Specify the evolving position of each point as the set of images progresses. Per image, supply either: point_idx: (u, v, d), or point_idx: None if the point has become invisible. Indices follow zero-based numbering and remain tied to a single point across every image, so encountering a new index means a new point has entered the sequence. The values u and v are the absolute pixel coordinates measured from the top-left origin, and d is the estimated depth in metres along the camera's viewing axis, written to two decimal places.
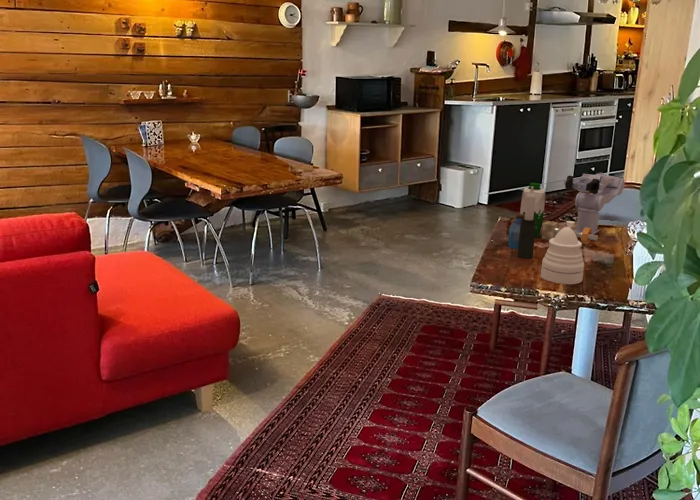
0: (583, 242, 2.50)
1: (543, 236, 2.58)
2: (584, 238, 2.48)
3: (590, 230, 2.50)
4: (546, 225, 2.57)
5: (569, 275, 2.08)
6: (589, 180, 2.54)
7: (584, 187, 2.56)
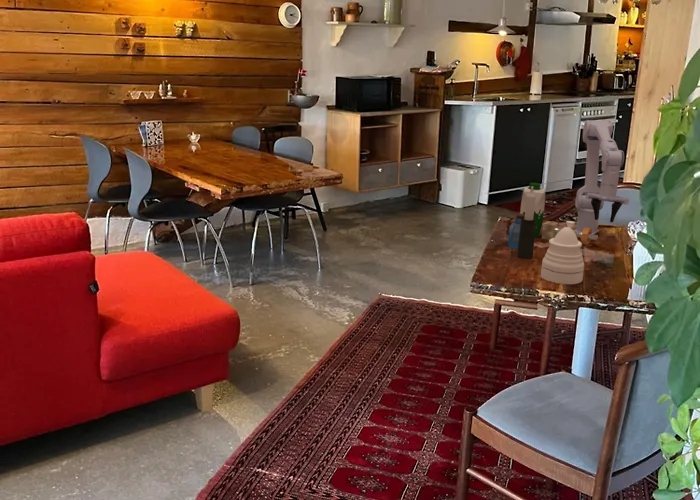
0: (583, 242, 2.50)
1: (543, 236, 2.58)
2: (584, 238, 2.48)
3: (590, 230, 2.50)
4: (546, 225, 2.57)
5: (569, 275, 2.08)
6: (611, 199, 2.41)
7: None
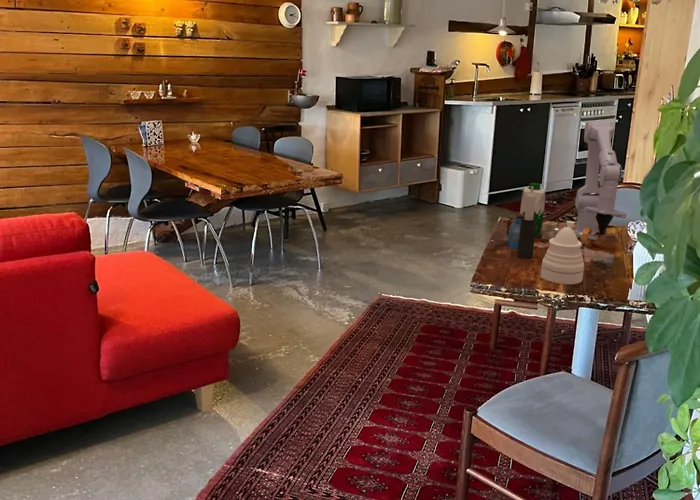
0: (583, 242, 2.50)
1: (543, 236, 2.58)
2: (584, 238, 2.48)
3: (590, 230, 2.50)
4: (546, 225, 2.57)
5: (569, 275, 2.08)
6: (609, 213, 2.42)
7: None
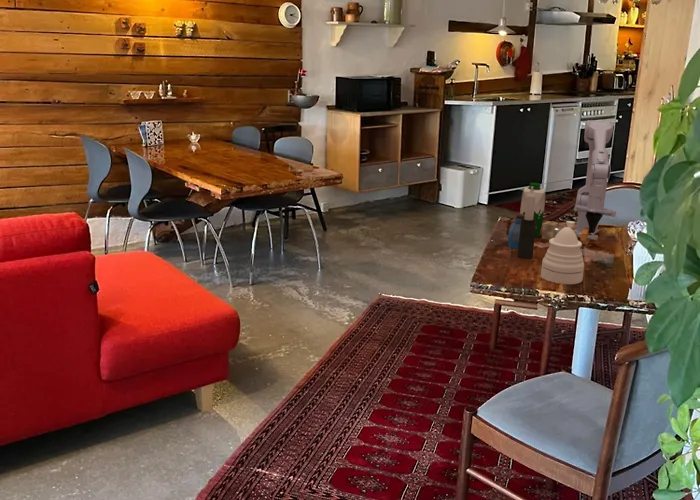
0: (582, 242, 2.50)
1: (543, 236, 2.58)
2: (583, 238, 2.49)
3: None
4: (546, 225, 2.57)
5: (569, 275, 2.08)
6: None
7: None
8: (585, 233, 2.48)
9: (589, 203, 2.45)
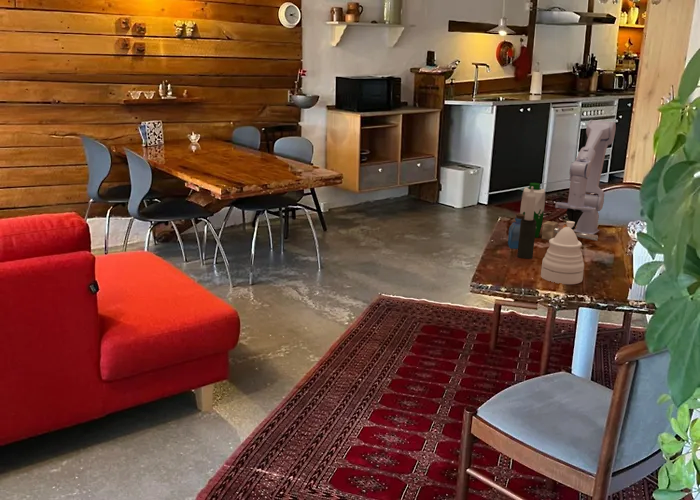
0: None
1: (543, 236, 2.58)
2: None
3: None
4: (546, 225, 2.57)
5: (569, 275, 2.08)
6: (579, 209, 2.48)
7: None
8: None
9: (569, 200, 2.49)
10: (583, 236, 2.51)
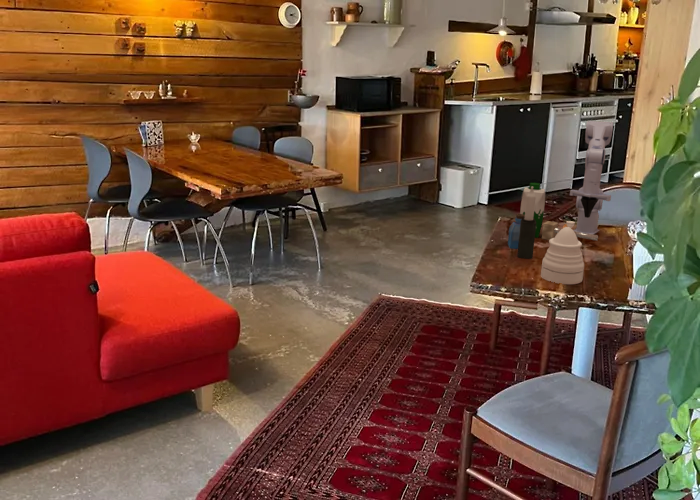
0: None
1: (543, 236, 2.58)
2: None
3: None
4: (546, 225, 2.57)
5: (569, 275, 2.08)
6: (593, 196, 2.46)
7: None
8: None
9: (584, 187, 2.47)
10: (583, 236, 2.51)
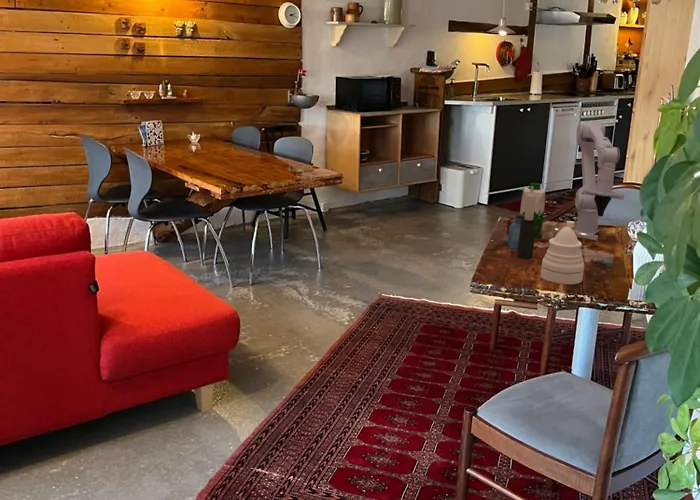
0: None
1: (543, 236, 2.58)
2: None
3: None
4: (546, 225, 2.57)
5: (569, 275, 2.08)
6: (607, 195, 2.48)
7: None
8: None
9: (598, 186, 2.49)
10: (583, 236, 2.51)
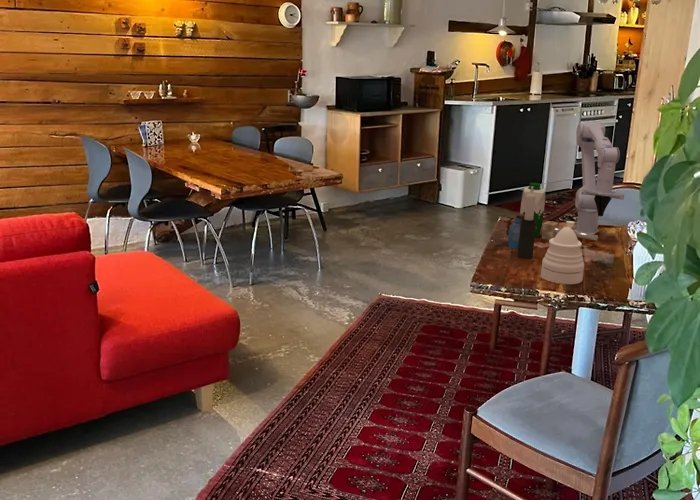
0: None
1: (543, 236, 2.58)
2: None
3: None
4: (546, 225, 2.57)
5: (569, 275, 2.08)
6: (607, 195, 2.48)
7: None
8: None
9: (598, 186, 2.49)
10: (583, 236, 2.51)
